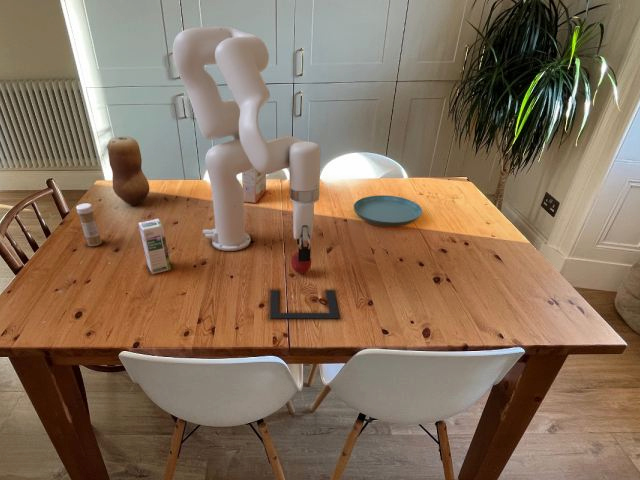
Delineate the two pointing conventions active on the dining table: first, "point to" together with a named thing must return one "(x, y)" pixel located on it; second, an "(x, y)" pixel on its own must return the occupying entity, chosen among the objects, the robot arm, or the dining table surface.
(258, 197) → the cracker box
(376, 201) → the saucer
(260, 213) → the dining table surface
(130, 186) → the butternut squash
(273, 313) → the bay
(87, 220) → the sprinkles bottle
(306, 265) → the onion
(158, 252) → the syrup box
